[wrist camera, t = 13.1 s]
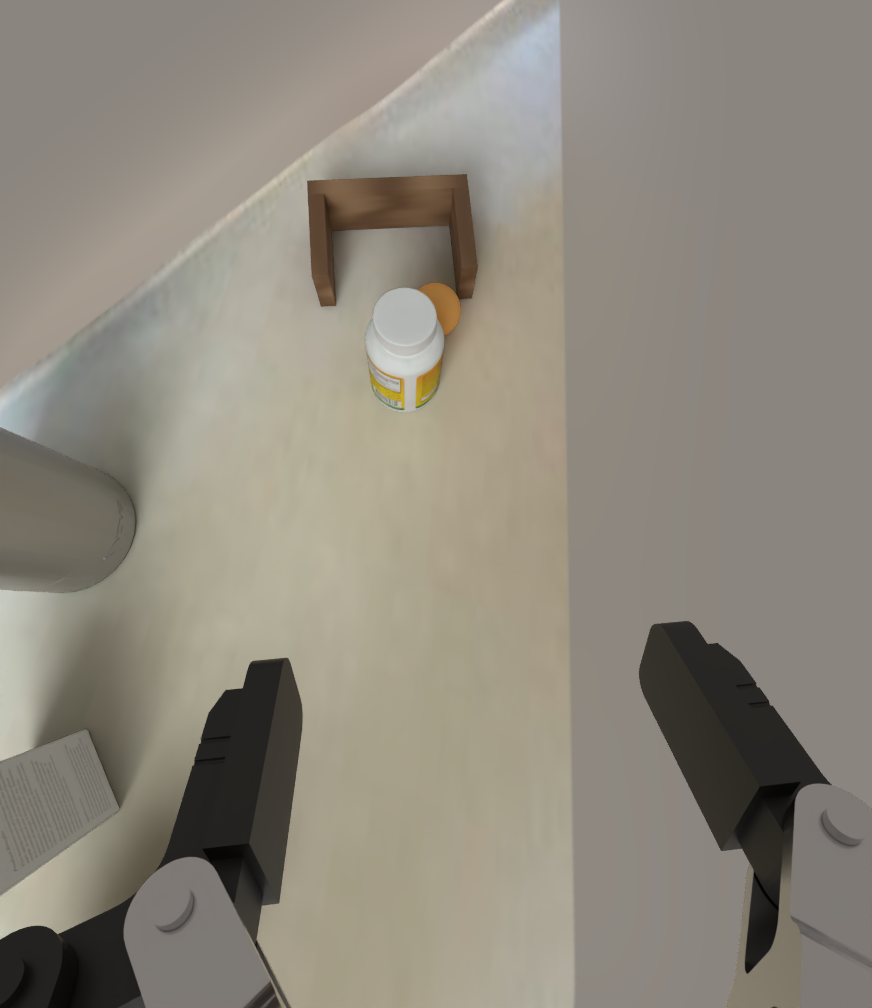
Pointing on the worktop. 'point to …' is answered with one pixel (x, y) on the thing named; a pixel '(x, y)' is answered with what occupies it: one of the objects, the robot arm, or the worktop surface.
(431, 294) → the ball
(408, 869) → the worktop surface
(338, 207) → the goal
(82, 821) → the skincare box
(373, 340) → the supplement bottle
